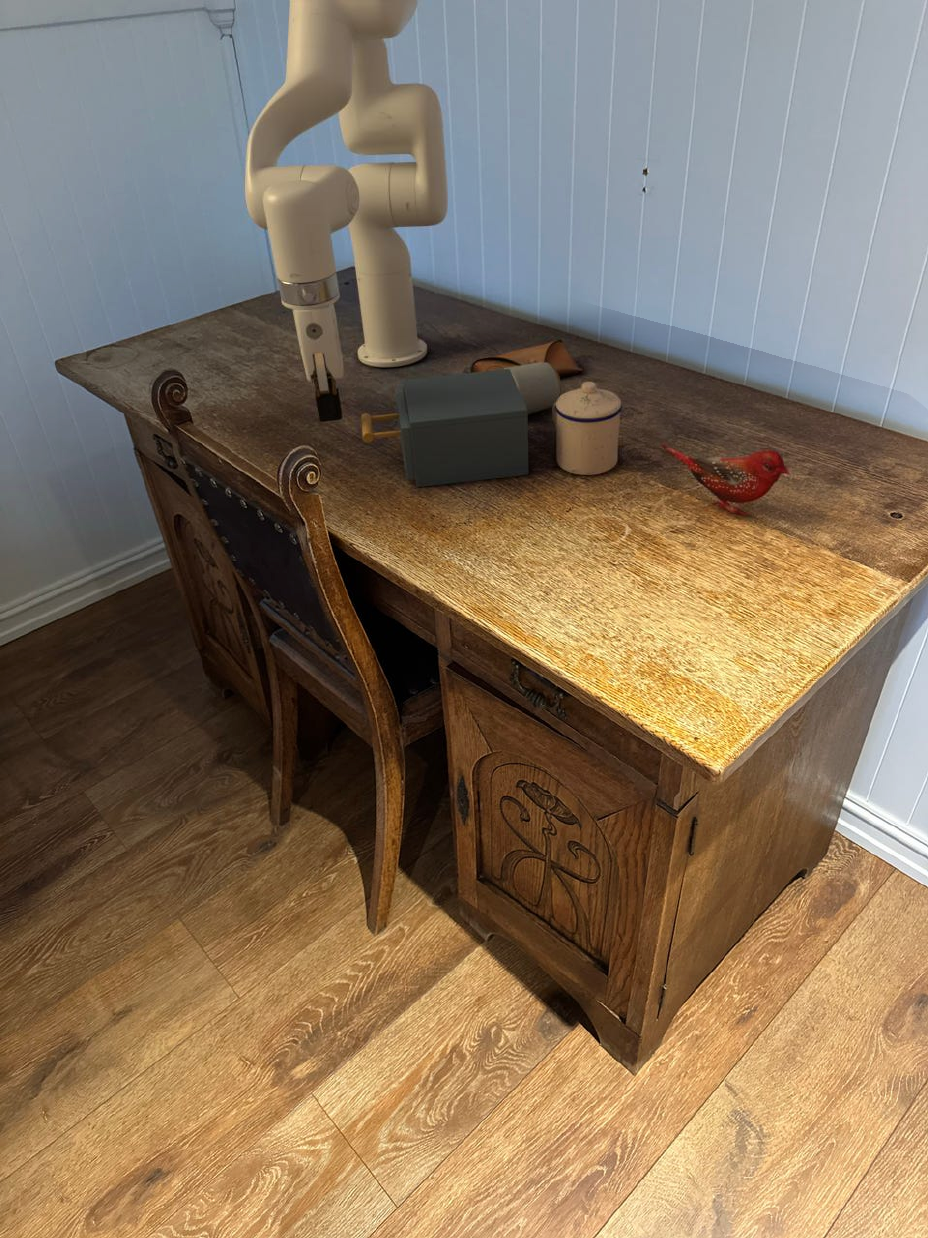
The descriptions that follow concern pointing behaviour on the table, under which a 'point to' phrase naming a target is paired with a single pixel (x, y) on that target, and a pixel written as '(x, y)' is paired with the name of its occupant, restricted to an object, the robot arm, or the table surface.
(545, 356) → the sunglasses case
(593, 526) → the table surface
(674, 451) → the decorative bird figurine
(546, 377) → the ceramic mug
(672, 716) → the table surface
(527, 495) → the table surface
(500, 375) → the cabinet
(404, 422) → the drawer
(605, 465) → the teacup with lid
